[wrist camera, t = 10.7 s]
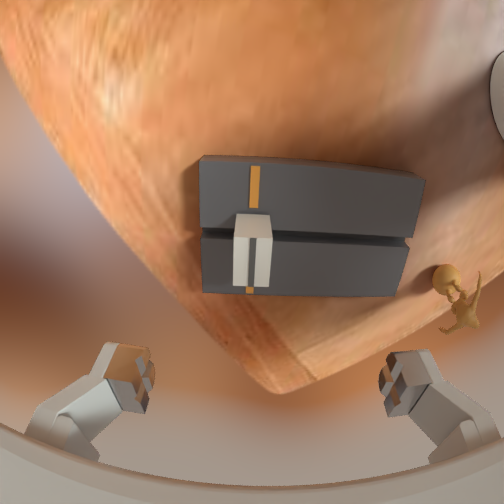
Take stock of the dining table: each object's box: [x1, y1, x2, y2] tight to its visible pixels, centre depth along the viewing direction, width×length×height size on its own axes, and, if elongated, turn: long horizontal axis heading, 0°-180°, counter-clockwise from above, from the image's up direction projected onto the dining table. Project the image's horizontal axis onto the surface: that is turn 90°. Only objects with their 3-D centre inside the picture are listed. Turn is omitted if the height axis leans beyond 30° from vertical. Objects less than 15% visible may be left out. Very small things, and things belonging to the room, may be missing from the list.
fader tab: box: [233, 214, 273, 287], centre depth 28 cm, size 3×4×7 cm, turn 177°
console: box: [199, 155, 426, 297], centre depth 31 cm, size 22×14×3 cm, turn 87°
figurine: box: [432, 264, 482, 334], centre depth 30 cm, size 8×6×12 cm
